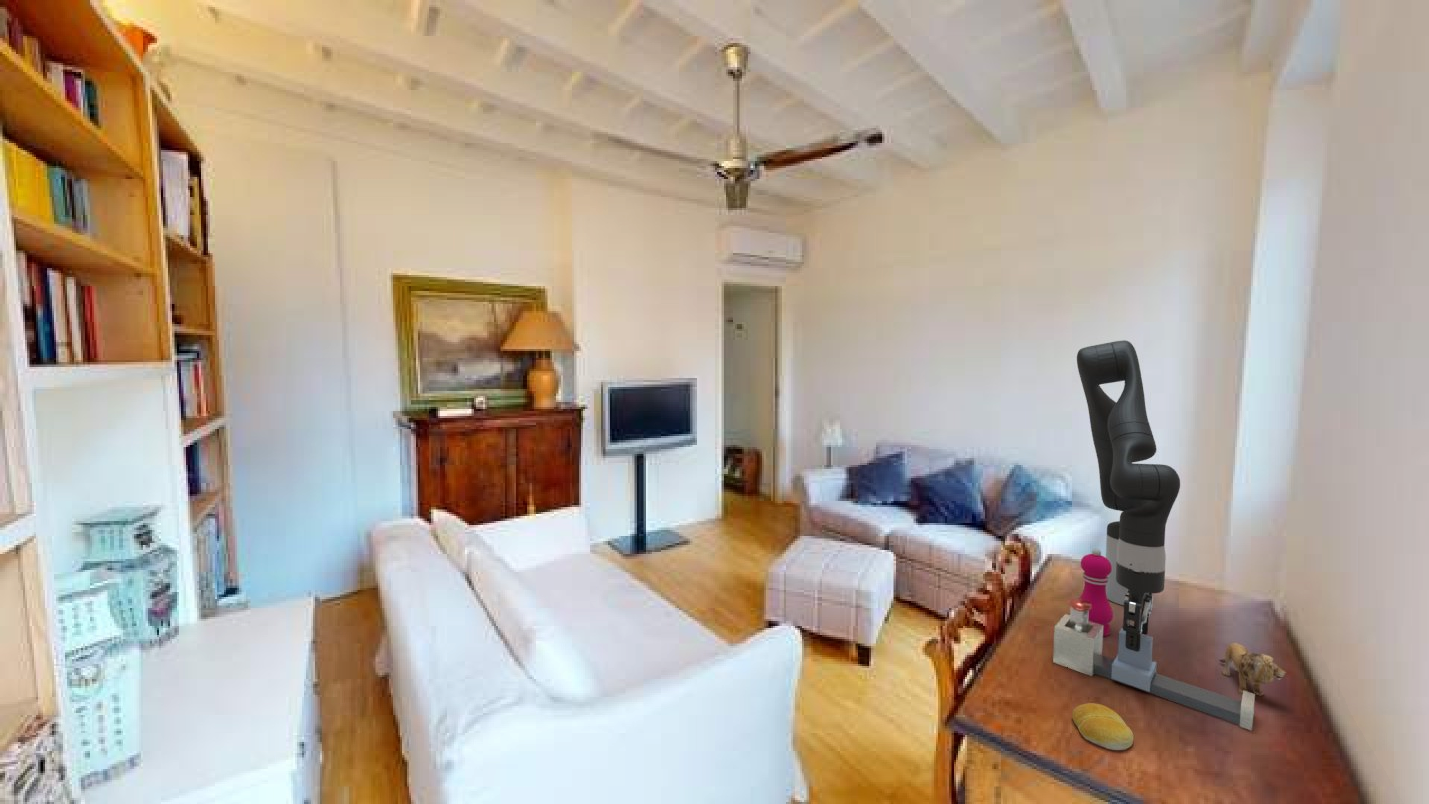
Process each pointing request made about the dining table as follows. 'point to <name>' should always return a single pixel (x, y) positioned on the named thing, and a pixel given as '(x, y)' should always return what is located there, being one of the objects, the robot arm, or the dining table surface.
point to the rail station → (1087, 658)
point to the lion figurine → (1251, 667)
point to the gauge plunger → (1079, 614)
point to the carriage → (1134, 663)
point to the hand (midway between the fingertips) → (1136, 641)
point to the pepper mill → (1097, 588)
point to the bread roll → (1102, 726)
